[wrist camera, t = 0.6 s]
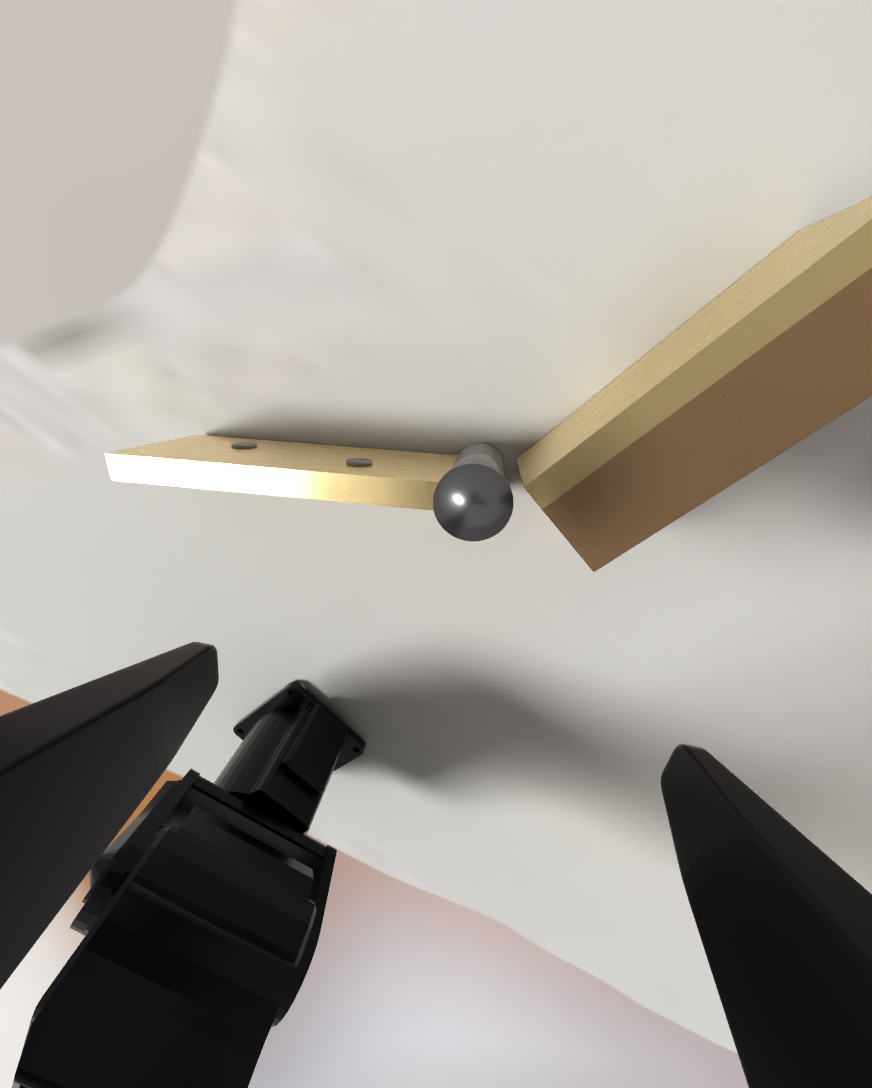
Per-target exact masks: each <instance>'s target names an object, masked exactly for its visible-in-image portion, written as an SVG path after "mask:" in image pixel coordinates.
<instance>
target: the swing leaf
mask: <svg viewBox="0 0 872 1088" xmlns="http://www.w3.org/2000/svg"><path fill="white" fill-rule="evenodd" d="M105 457H106V461H107V465H108V468H109V472H110V476H111V480H114V481H125V482H135V483H146V484H157V485H167V486H178V487H189V488H200V489H210V490H221V491H232V492H243V493H253V494H264V495H275V496H285V497H296V498H307V499H318V500H328V501H339V502H350V503H361V504H371V505H382V506H393V507H404V508H414V509H425V510H434V513H435V516H436V518H437V520H438V522H439V524H440V525H441V526H442V528H443V529H444V530H445V531H447V532H448V533H449V534H451V535H452V536H454V537H456V538H458V539H462V540H466V541H481V540H485V539H488V538H490V537H493V536H494V535H496V534H497V533H499V532H500V531H501V530H502V529H503V528H504V527H505V526H506V524H507V523H508V521H509V519H510V517H511V514H512V510H513V495H512V490H511V487H510V485H509V483H508V481H507V480H506V478H505V475H504V465H503V460H502V457H501V456H500V454H499V453H498V451H497V450H496V449H494V448H493V447H491V446H489V445H487V444H482V443H476V444H472V445H469V446H467V447H465V448H464V449H463V450H462V451H461V452H460V453H459V454H458V455H447V454H434V453H422V452H409V451H396V450H384V449H371V448H358V447H346V446H333V445H320V444H308V443H295V442H282V441H269V440H257V439H244V438H231V437H219V436H206V435H193V436H188V437H183V438H178V439H173V440H168V441H163V442H158V443H153V444H149V445H144V446H139V447H134V448H129V449H124V450H119V451H114V452H109V453H105Z"/></svg>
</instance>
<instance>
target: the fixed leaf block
mask: <svg viewBox="0 0 872 1088" xmlns="http://www.w3.org/2000/svg"><path fill="white" fill-rule="evenodd" d="M870 396H872V196H871V197H869V198H867V199H865V200H863V201H861V202H859V203H857V204H855V205H852V206H850V207H848V208H846V209H844V210H842V211H840V212H838V213H835V214H833V215H831V216H829V217H827V218H825V219H823V220H821V221H819V222H816V223H814V224H812V225H810V226H808V227H806V228H804V229H802V230H799V231H798V232H797V233H795V234H794V235H793V236H792V237H791V238H789V239H788V240H787V241H786V242H784V243H783V244H782V245H781V246H779V247H778V248H777V249H776V250H774V251H773V252H772V253H771V254H769V255H768V256H767V257H766V258H765V259H763V260H762V261H761V262H760V263H758V264H757V265H756V266H755V267H753V268H752V269H751V270H750V271H748V272H747V273H746V274H745V275H743V276H742V277H741V278H740V279H739V280H737V281H736V282H735V283H734V284H732V285H731V286H730V287H729V288H727V289H726V290H725V291H724V292H722V293H721V294H720V295H719V296H717V297H716V298H715V299H714V300H713V301H711V302H710V303H709V304H708V305H706V306H705V307H704V308H703V309H701V310H700V311H699V312H698V313H696V314H695V315H694V316H693V317H691V318H690V319H689V320H688V321H687V322H685V323H684V324H683V325H682V326H680V327H679V328H678V329H677V330H675V331H674V332H673V333H672V334H670V335H669V336H668V337H667V338H666V339H664V340H663V341H662V342H661V343H659V344H658V345H657V346H656V347H654V348H653V349H652V350H651V351H649V352H648V353H647V354H646V355H644V356H643V357H642V358H641V359H640V360H638V361H637V362H636V363H635V364H633V365H632V366H631V367H630V368H628V369H627V370H626V371H625V372H623V373H622V374H621V375H620V376H618V377H617V378H616V379H615V380H614V381H612V382H611V383H610V384H609V385H607V386H606V387H605V388H604V389H602V390H601V391H600V392H599V393H597V394H596V395H595V396H594V397H592V398H591V399H590V400H589V401H588V402H586V403H585V404H584V405H583V406H581V407H580V408H579V409H578V410H576V411H575V412H574V413H573V414H571V415H570V416H569V417H568V418H566V419H565V420H564V421H563V422H562V423H560V424H559V425H558V426H557V427H555V428H554V429H553V430H552V431H550V432H549V433H548V434H547V435H545V436H544V437H543V438H542V439H540V440H539V441H538V442H537V443H536V444H534V445H533V446H532V447H531V448H529V449H528V450H527V451H526V452H524V453H523V454H522V455H521V456H519V457H518V458H517V462H518V466H519V470H520V474H521V478H522V482H523V486H524V488H525V489H526V491H527V492H528V493H529V494H530V495H531V497H532V498H533V499H534V500H535V501H536V503H537V504H538V505H539V506H540V508H541V509H542V510H543V511H544V512H545V514H546V515H547V516H548V517H549V518H550V520H551V521H552V522H553V523H554V525H555V526H556V527H557V528H558V529H559V531H560V532H561V533H562V534H563V535H564V537H565V538H566V539H567V540H568V541H569V543H570V544H571V545H572V546H573V548H574V549H575V550H576V551H577V552H578V554H579V555H580V556H581V557H582V558H583V560H584V561H585V562H586V563H587V565H588V566H589V567H590V568H591V569H592V571H593V572H595V571H596V570H598V569H599V568H601V567H603V566H604V565H606V564H607V563H609V562H610V561H612V560H614V559H615V558H617V557H618V556H620V555H621V554H623V553H625V552H626V551H628V550H629V549H631V548H632V547H634V546H636V545H637V544H639V543H640V542H642V541H643V540H645V539H647V538H648V537H650V536H651V535H653V534H655V533H656V532H658V531H659V530H661V529H662V528H664V527H666V526H667V525H669V524H670V523H672V522H673V521H675V520H677V519H678V518H680V517H681V516H683V515H684V514H686V513H688V512H689V511H691V510H692V509H694V508H695V507H697V506H699V505H700V504H702V503H703V502H705V501H706V500H708V499H710V498H711V497H713V496H714V495H716V494H717V493H719V492H721V491H722V490H724V489H725V488H727V487H728V486H730V485H732V484H733V483H735V482H736V481H738V480H739V479H741V478H743V477H744V476H746V475H747V474H749V473H750V472H752V471H754V470H755V469H757V468H758V467H760V466H762V465H763V464H765V463H766V462H768V461H769V460H771V459H773V458H774V457H776V456H777V455H779V454H780V453H782V452H784V451H785V450H787V449H788V448H790V447H791V446H793V445H795V444H796V443H798V442H799V441H801V440H802V439H804V438H806V437H807V436H809V435H810V434H812V433H813V432H815V431H817V430H818V429H820V428H821V427H823V426H824V425H826V424H828V423H829V422H831V421H832V420H834V419H835V418H837V417H839V416H840V415H842V414H843V413H845V412H846V411H848V410H850V409H851V408H853V407H854V406H856V405H857V404H859V403H861V402H862V401H864V400H865V399H867V398H869V397H870Z"/></svg>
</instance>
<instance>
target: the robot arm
mask: <svg viewBox="0 0 872 1088" xmlns="http://www.w3.org/2000/svg"><path fill="white" fill-rule="evenodd" d="M218 680H219V674H218V657H217V650H216V648H215V646H213V645H209V644H205V643H200V642H192V643H189V644H186V645H184V646H181V647H178V648H176V649H173V650H171V651H168V652H165V653H163V654H160V655H158V656H155V657H153V658H150V659H147V660H145V661H142V662H140V663H137V664H134V665H132V666H129V667H127V668H124V669H121V670H119V671H116V672H114V673H111V674H108V675H106V676H103V677H101V678H98V679H95V680H93V681H90V682H88V683H85V684H82V685H80V686H77V687H75V688H72V689H69V690H67V691H64V692H62V693H59V694H56V695H54V696H51V697H49V698H46V699H43V700H41V701H38V702H36V703H33V704H30V705H28V706H25V707H23V708H20V709H17V710H15V711H12V712H10V713H7V714H4V715H2V716H0V989H1V988H2V986H3V985H4V984H5V982H6V981H7V980H8V978H9V977H10V976H11V974H12V973H13V972H14V970H15V969H16V967H17V966H18V965H19V963H20V962H21V961H22V960H23V958H24V957H25V956H26V954H27V953H28V952H29V950H30V949H31V948H32V947H33V945H34V944H35V943H36V941H37V940H38V939H39V937H40V936H41V935H42V933H43V932H44V931H45V929H46V928H47V927H48V925H49V924H50V923H51V921H52V920H53V919H54V917H55V916H56V914H57V913H58V912H59V911H60V909H61V908H62V907H63V905H64V904H65V903H66V901H67V900H68V899H69V897H70V896H71V895H72V893H73V892H74V891H75V889H76V888H77V887H78V885H79V884H80V883H81V881H82V880H83V879H84V877H85V876H86V874H87V873H88V872H89V871H90V890H89V892H88V893H87V895H86V896H85V898H84V900H83V901H82V902H83V903H85V905H84V906H83V907H82V909H81V910H80V912H79V913H78V915H77V916H76V918H75V919H74V921H73V923H72V924H71V926H70V928H71V929H73V930H75V931H78V932H79V933H81V934H83V935H86V936H85V938H84V939H83V940H82V942H81V943H80V945H79V946H78V947H77V949H76V950H75V952H74V953H73V954H72V956H71V957H70V959H69V960H68V961H67V963H66V964H65V966H64V967H63V968H62V970H61V971H60V973H59V974H58V975H57V977H56V978H55V980H54V981H53V982H52V984H51V985H50V987H49V988H48V989H47V991H46V992H45V994H44V995H43V996H42V998H41V1000H40V1001H39V1003H38V1005H37V1006H36V1009H35V1011H34V1014H33V1016H32V1019H31V1023H30V1026H29V1030H28V1033H27V1037H26V1040H25V1044H24V1047H23V1051H22V1054H21V1058H20V1061H19V1064H18V1067H17V1070H16V1073H15V1078H14V1082H13V1086H12V1088H248V1085H249V1082H250V1080H251V1077H252V1074H253V1072H254V1069H255V1066H256V1064H257V1061H258V1058H259V1055H260V1053H261V1050H262V1048H263V1045H264V1043H265V1040H266V1038H267V1035H268V1033H269V1031H270V1028H271V1026H276V1025H277V1024H278V1023H279V1022H280V1021H281V1020H282V1019H283V1017H284V1016H285V1014H286V1013H287V1012H288V1010H289V1008H290V1006H291V1005H292V1003H293V1001H294V999H295V997H296V995H297V993H298V991H299V989H300V987H301V985H302V983H303V980H304V978H305V975H306V973H307V971H308V969H309V966H310V963H311V960H312V958H313V955H314V952H315V949H316V945H317V942H318V938H319V934H320V930H321V925H322V921H323V916H324V911H325V906H326V901H327V896H328V891H329V886H330V882H331V877H332V872H333V867H334V862H335V857H336V852H337V850H336V849H335V848H333V847H331V846H329V845H327V846H325V845H323V844H321V843H319V842H318V841H316V840H314V839H312V838H310V837H309V836H307V833H308V831H309V828H310V826H311V823H312V821H313V818H314V816H315V813H316V811H317V809H318V806H319V804H320V801H321V799H322V796H323V794H324V791H325V789H326V787H327V784H328V782H329V779H330V777H331V775H332V772H333V771H335V770H336V769H338V768H340V767H341V766H343V765H345V764H346V763H348V762H350V761H352V760H353V759H355V758H357V757H358V756H360V755H362V754H363V753H364V750H365V746H366V745H365V742H364V741H363V740H362V739H360V738H359V737H358V736H357V735H356V734H355V733H354V732H353V731H351V730H350V729H349V728H348V727H347V726H346V725H345V724H344V723H343V722H341V721H340V720H339V719H338V718H337V717H336V716H335V715H334V714H332V713H331V712H330V711H329V710H328V709H327V708H326V707H325V706H323V705H322V704H321V703H320V702H319V701H318V700H317V699H316V698H314V697H313V696H312V695H311V694H310V693H309V692H308V691H307V690H305V689H304V688H303V687H302V686H301V685H300V684H298V683H295V682H292V683H289V684H288V685H287V686H285V687H284V688H283V689H281V690H280V691H279V692H277V693H276V694H275V695H273V696H272V697H271V698H269V699H268V700H267V701H265V702H264V703H263V704H261V705H260V706H259V707H257V708H256V709H255V710H253V711H252V712H251V713H249V714H248V715H247V716H245V717H244V718H243V719H241V720H240V721H239V722H238V723H237V724H236V726H235V727H234V729H233V730H234V733H235V734H236V735H237V736H239V737H240V738H241V739H242V740H243V742H242V743H241V745H240V746H239V748H238V749H237V751H236V752H235V753H234V755H233V756H232V758H231V759H230V761H229V762H228V764H227V765H226V767H225V768H224V769H223V771H222V772H221V774H220V775H219V777H218V778H217V780H216V781H215V783H214V784H213V783H211V782H210V781H208V780H206V779H204V778H202V777H201V776H199V775H200V773H198V772H196V771H194V770H193V769H190V770H189V772H188V773H187V774H186V775H185V777H184V778H183V779H182V780H179V781H166V783H165V784H164V785H163V786H162V788H161V789H160V790H159V791H158V793H157V794H156V795H155V796H154V798H153V799H152V800H151V801H150V803H149V804H148V805H147V806H146V807H145V809H144V810H143V811H142V812H141V813H140V814H139V815H138V817H137V818H136V819H135V820H134V821H133V822H132V823H131V824H130V825H129V826H128V827H127V828H126V829H125V830H124V831H123V833H122V834H121V835H120V836H119V837H118V838H117V839H116V840H115V841H114V842H113V843H112V844H111V845H110V846H109V847H108V845H109V844H110V843H111V842H112V840H113V839H114V837H115V836H116V835H117V834H118V832H119V831H120V830H121V828H122V827H123V825H124V824H125V823H126V822H127V820H128V819H129V818H130V816H131V815H132V813H133V812H134V811H135V810H136V808H137V807H138V805H139V804H140V803H141V801H142V800H143V799H144V798H145V796H146V795H147V793H148V792H149V791H150V790H151V788H152V787H153V786H154V784H155V783H156V781H157V780H158V779H159V778H160V776H161V775H162V774H163V772H164V771H165V769H166V768H167V767H168V765H169V764H170V762H171V761H172V759H173V758H174V756H175V755H176V753H177V752H178V750H179V748H180V747H181V745H182V743H183V742H184V740H185V739H186V737H187V735H188V734H189V732H190V731H191V729H192V727H193V726H194V724H195V722H196V721H197V719H198V718H199V716H200V714H201V713H202V711H203V709H204V708H205V706H206V705H207V703H208V701H209V700H210V698H211V696H212V695H213V693H214V691H215V690H216V687H217V684H218ZM294 691H295V692H294ZM661 788H662V793H663V798H664V802H665V806H666V811H667V815H668V820H669V824H670V829H671V833H672V837H673V842H674V846H675V851H676V855H677V859H678V864H679V868H680V872H681V876H682V880H683V883H684V886H685V890H686V893H687V896H688V900H689V903H690V906H691V909H692V912H693V915H694V918H695V921H696V925H697V928H698V931H699V934H700V937H701V940H702V943H703V946H704V949H705V953H706V956H707V959H708V962H709V965H710V968H711V971H712V974H713V977H714V981H715V984H716V987H717V990H718V993H719V996H720V999H721V1002H722V1005H723V1009H724V1012H725V1015H726V1018H727V1021H728V1024H729V1027H730V1030H731V1033H732V1037H733V1040H734V1043H735V1046H736V1049H737V1052H738V1055H739V1058H740V1061H741V1064H742V1068H743V1071H744V1074H745V1077H746V1080H747V1083H748V1086H749V1088H872V894H871V893H870V892H868V891H867V890H866V889H865V888H864V887H863V886H861V885H860V884H859V883H858V882H857V881H856V880H855V879H853V878H852V877H851V876H850V875H849V874H848V873H847V872H845V871H844V870H843V869H842V868H841V867H840V866H838V865H837V864H836V863H835V862H834V861H833V860H832V859H830V858H829V857H828V856H827V855H826V854H825V853H824V852H822V851H821V850H820V849H819V848H818V847H817V846H815V845H814V844H813V843H812V842H811V841H810V840H809V839H807V838H806V837H805V836H804V835H803V834H802V833H801V832H799V831H798V830H797V829H796V828H795V827H794V826H792V825H791V824H790V823H789V822H788V821H787V820H786V819H784V818H783V817H782V816H781V815H780V814H779V813H778V812H776V811H775V810H774V809H773V808H772V807H771V806H769V805H768V804H767V803H766V802H765V801H764V800H763V799H761V798H760V797H759V796H758V795H757V794H756V793H755V792H753V791H752V790H751V789H750V788H749V787H748V786H746V785H745V784H744V783H743V782H742V781H741V780H740V779H738V778H737V777H736V776H735V775H734V774H733V773H732V772H730V771H729V770H728V769H727V768H726V767H725V766H723V765H722V764H721V763H720V762H719V761H718V760H717V759H715V758H714V757H713V756H712V755H711V754H710V753H709V752H707V751H706V750H705V749H703V748H700V747H695V746H691V745H686V744H680V745H678V746H677V747H676V748H675V749H674V751H673V753H672V755H671V757H670V759H669V761H668V763H667V765H666V767H665V769H664V771H663V773H662V776H661ZM107 847H108V849H106V848H107ZM105 849H106V850H105ZM103 852H104V853H103ZM102 853H103V854H102Z"/></svg>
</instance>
